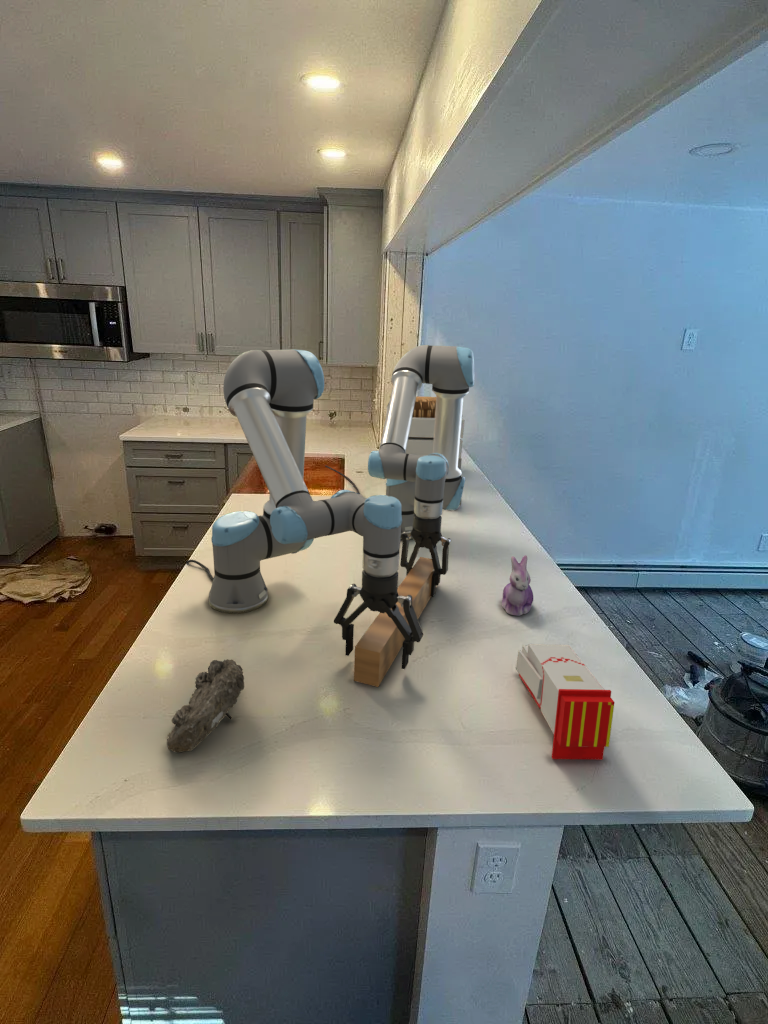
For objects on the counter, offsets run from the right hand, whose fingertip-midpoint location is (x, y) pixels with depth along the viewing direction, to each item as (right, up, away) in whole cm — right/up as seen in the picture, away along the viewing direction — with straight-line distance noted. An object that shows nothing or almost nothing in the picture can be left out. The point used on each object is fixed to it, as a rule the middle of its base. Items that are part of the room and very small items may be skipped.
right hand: (422, 592), depth 158 cm
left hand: (-12, -10, -34) cm, 37 cm away
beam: (-6, -6, -17) cm, 19 cm away
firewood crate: (+7, +41, +117) cm, 124 cm away
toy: (+24, -17, -44) cm, 53 cm away
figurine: (+25, -4, -5) cm, 26 cm away
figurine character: (+17, +25, +73) cm, 79 cm away
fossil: (-43, -17, -50) cm, 68 cm away
